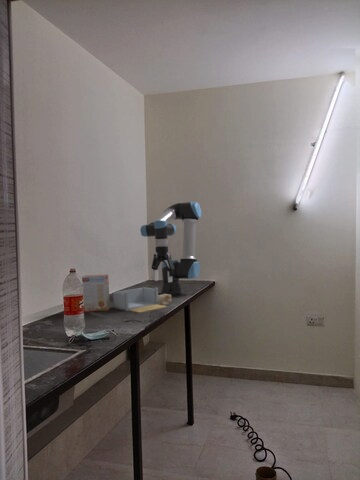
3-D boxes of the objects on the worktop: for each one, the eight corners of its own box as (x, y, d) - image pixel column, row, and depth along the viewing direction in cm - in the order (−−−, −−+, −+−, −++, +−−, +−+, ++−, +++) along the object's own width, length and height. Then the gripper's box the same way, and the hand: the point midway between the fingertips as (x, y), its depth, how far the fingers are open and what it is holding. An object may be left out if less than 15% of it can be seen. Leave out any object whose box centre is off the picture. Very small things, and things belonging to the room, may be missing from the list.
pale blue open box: (144, 303, 242) (143, 285, 242) (158, 306, 231) (157, 287, 231) (113, 309, 229) (112, 290, 228) (126, 312, 217) (125, 293, 217)
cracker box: (110, 310, 227) (108, 274, 226) (106, 312, 221) (104, 275, 220) (88, 310, 230) (86, 274, 229) (83, 312, 224) (81, 276, 223)
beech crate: (165, 303, 239) (164, 293, 239) (172, 304, 234) (171, 294, 234) (157, 305, 235) (156, 295, 235) (163, 306, 230) (163, 296, 230)
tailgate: (157, 304, 230) (166, 306, 222) (157, 306, 230) (166, 308, 222) (129, 309, 218) (138, 311, 210) (129, 312, 218) (139, 314, 210)
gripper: (144, 246, 241) (146, 280, 242) (169, 246, 222) (171, 283, 222) (154, 245, 246) (156, 279, 246) (179, 245, 227) (181, 282, 227)
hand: (163, 281), depth 234 cm, fingers open, 13 cm apart
